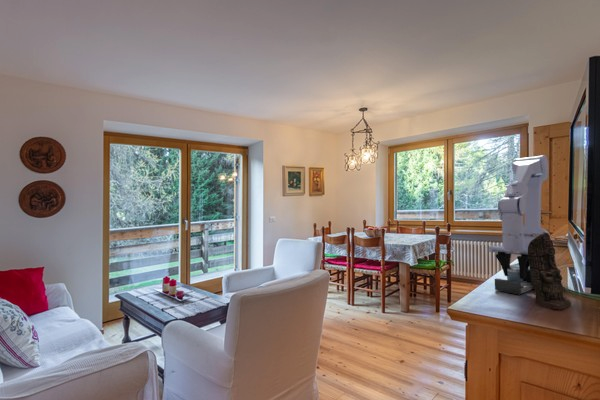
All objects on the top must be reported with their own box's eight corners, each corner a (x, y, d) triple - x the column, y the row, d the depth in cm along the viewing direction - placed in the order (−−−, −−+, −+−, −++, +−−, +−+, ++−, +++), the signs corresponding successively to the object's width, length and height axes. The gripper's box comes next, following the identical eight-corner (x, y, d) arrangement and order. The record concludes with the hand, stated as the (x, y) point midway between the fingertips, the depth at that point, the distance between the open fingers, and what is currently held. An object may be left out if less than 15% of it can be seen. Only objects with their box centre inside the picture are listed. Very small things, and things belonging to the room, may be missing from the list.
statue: (559, 311, 81) (555, 233, 82) (529, 304, 88) (525, 232, 88) (572, 306, 84) (568, 231, 85) (542, 299, 91) (538, 230, 91)
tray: (512, 284, 107) (511, 273, 107) (536, 288, 101) (535, 277, 101) (495, 289, 101) (494, 278, 101) (519, 294, 95) (518, 283, 95)
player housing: (520, 280, 112) (519, 262, 112) (551, 285, 104) (550, 266, 104) (507, 285, 107) (506, 265, 107) (538, 290, 99) (537, 270, 99)
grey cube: (511, 279, 104) (510, 267, 104) (525, 281, 100) (524, 268, 100) (505, 281, 102) (504, 268, 102) (519, 283, 98) (518, 270, 98)
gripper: (483, 234, 105) (485, 274, 105) (532, 237, 93) (535, 283, 93) (494, 232, 109) (496, 271, 109) (543, 235, 96) (546, 279, 96)
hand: (515, 276), depth 101 cm, fingers closed on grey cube, 4 cm apart
